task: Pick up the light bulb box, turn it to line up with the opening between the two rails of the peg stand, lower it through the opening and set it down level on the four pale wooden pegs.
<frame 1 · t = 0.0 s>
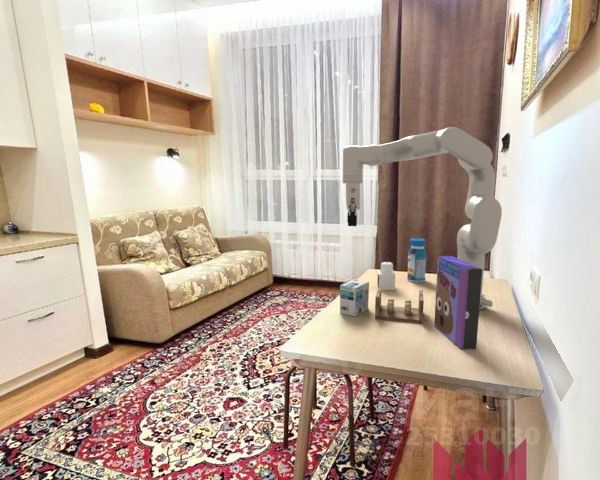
hand: (351, 224, 146), 31 cm above the table, tool pointing down, fingers open, 9 cm apart
light bulb box: (354, 311, 141), on the table
peg stand: (398, 315, 137), on the table
medicine bottle: (385, 288, 170), on the table
beverage bottle: (415, 280, 182), on the table
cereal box: (453, 337, 119), on the table
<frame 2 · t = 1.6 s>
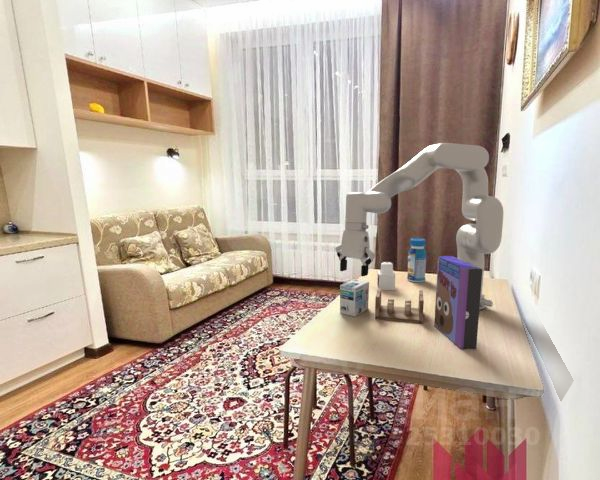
hand: (353, 273, 139), 15 cm above the table, tool pointing down, fingers open, 9 cm apart
nothing on the table moved.
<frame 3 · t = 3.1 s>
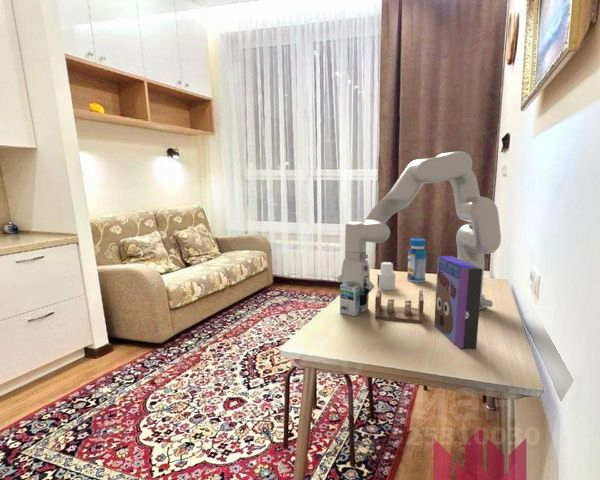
hand: (354, 302, 141), 3 cm above the table, tool pointing down, fingers closed on light bulb box, 7 cm apart
light bulb box: (354, 311, 141), on the table, touching gripper
everything else where it was.
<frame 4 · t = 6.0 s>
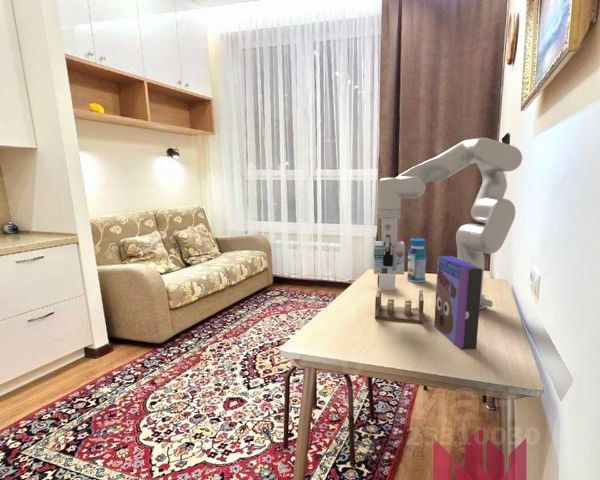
hand: (388, 262, 135), 19 cm above the table, tool pointing down, fingers closed on light bulb box, 7 cm apart
light bulb box: (388, 272, 136), point 15 cm above the table, touching gripper
everything else where it was.
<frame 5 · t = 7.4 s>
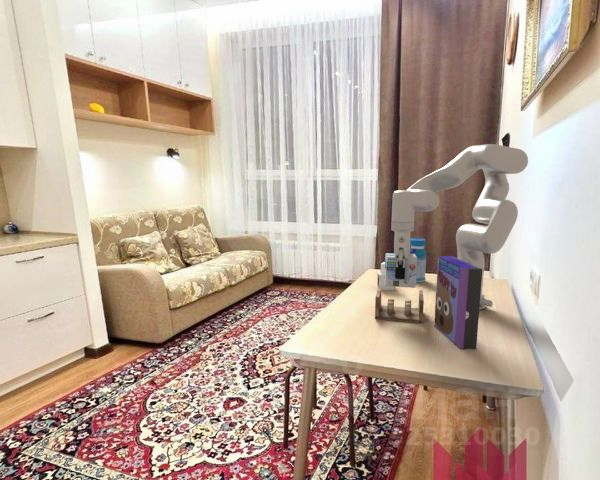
hand: (400, 275, 134), 15 cm above the table, tool pointing down, fingers closed on light bulb box, 7 cm apart
light bulb box: (399, 285, 135), point 11 cm above the table, touching gripper
everything else where it was.
when the fingers open (9 cm above the table, at t = 8.9 s): light bulb box stays where it is, resting on peg stand.
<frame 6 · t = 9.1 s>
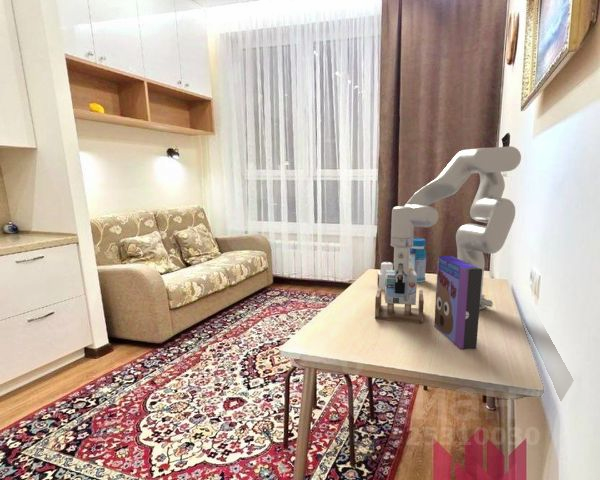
hand: (400, 289, 135), 10 cm above the table, tool pointing down, fingers open, 8 cm apart
light bulb box: (399, 302, 136), point 5 cm above the table, touching peg stand
everything else where it was.
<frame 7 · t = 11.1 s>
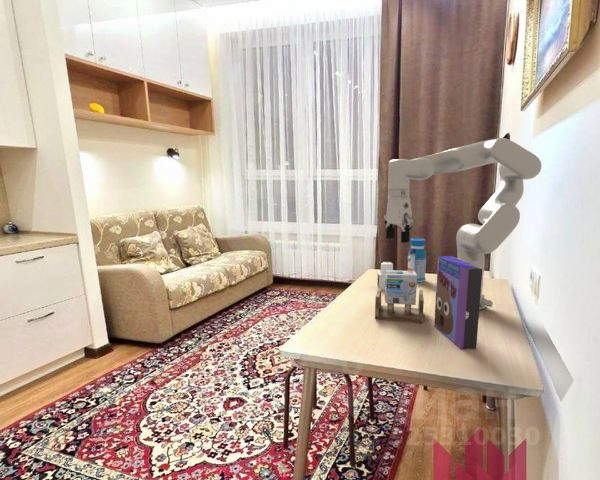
hand: (397, 240, 141), 26 cm above the table, tool pointing down, fingers open, 9 cm apart
nothing on the table moved.
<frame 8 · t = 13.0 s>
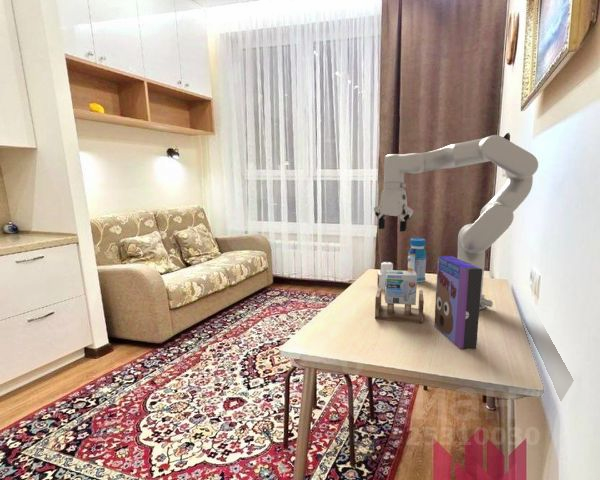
hand: (391, 229, 151), 28 cm above the table, tool pointing down, fingers open, 9 cm apart
nothing on the table moved.
at the end: light bulb box 0.4 cm off-centre on the peg stand, point 4.8 cm above the peg stand's base; light bulb box tilted 0°; the gripper is holding nothing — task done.
